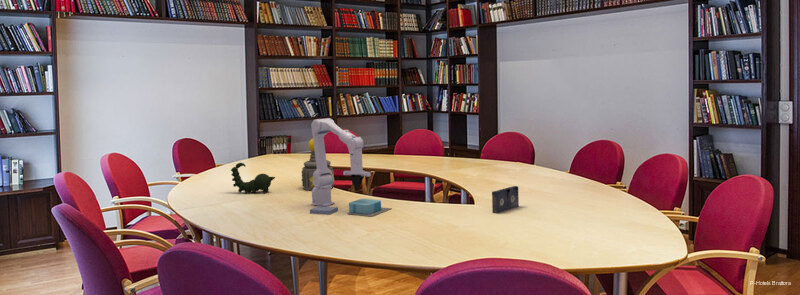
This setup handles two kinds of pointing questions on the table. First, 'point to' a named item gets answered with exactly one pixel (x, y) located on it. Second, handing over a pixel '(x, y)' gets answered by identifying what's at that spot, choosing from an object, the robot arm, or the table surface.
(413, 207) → the table surface
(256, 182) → the toy figurine
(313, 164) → the decorative lamp
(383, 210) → the mat
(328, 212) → the book
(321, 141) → the robot arm
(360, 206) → the teal flat block
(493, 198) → the vhs cassette tape
